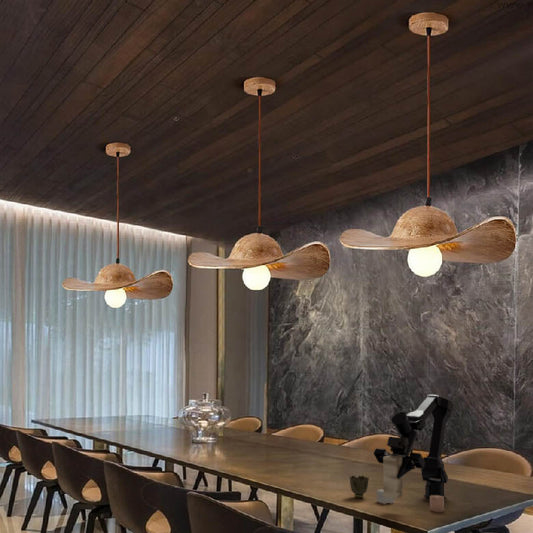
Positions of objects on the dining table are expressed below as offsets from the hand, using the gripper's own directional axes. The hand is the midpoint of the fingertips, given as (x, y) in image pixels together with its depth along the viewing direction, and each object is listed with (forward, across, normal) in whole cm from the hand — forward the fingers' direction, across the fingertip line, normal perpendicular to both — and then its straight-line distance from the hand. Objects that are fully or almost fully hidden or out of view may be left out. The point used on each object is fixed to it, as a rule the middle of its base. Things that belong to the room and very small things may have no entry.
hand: (391, 476), depth 256 cm
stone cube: (-1, -10, +18) cm, 21 cm away
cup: (-1, -22, +19) cm, 29 cm away
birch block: (+4, 0, +6) cm, 7 cm away
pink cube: (-2, +11, +19) cm, 22 cm away
